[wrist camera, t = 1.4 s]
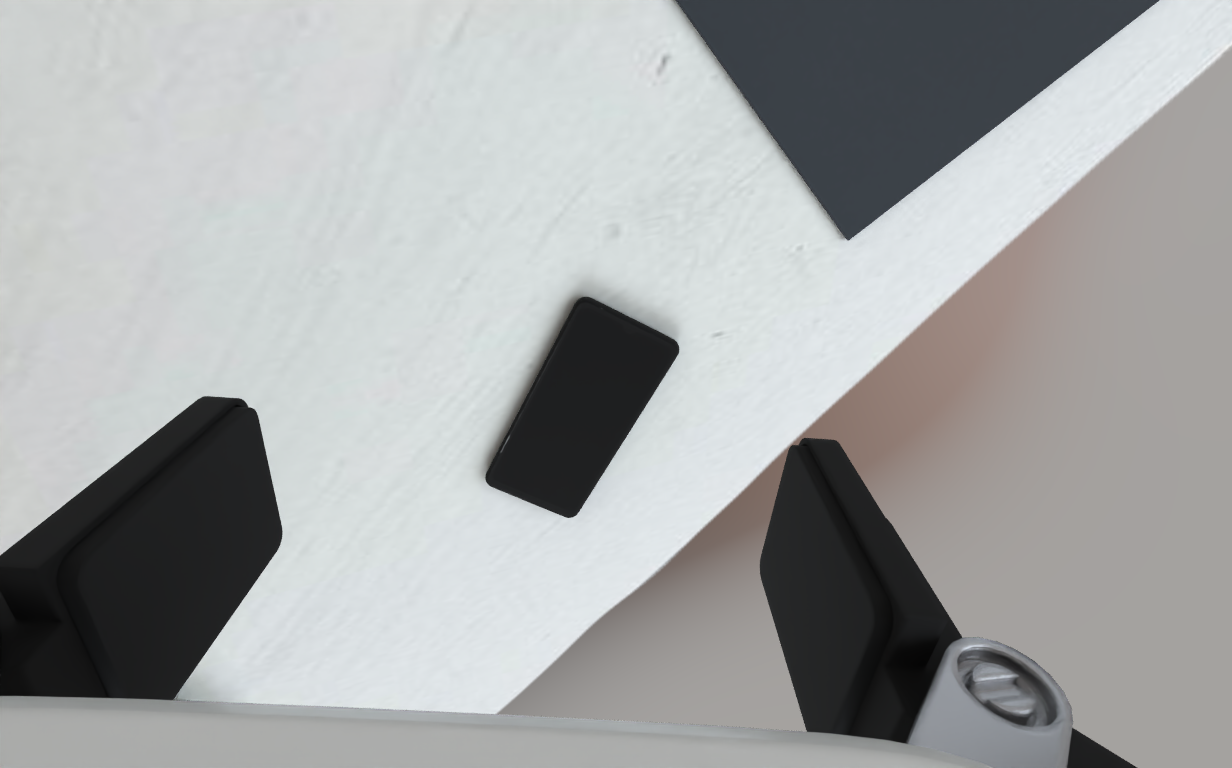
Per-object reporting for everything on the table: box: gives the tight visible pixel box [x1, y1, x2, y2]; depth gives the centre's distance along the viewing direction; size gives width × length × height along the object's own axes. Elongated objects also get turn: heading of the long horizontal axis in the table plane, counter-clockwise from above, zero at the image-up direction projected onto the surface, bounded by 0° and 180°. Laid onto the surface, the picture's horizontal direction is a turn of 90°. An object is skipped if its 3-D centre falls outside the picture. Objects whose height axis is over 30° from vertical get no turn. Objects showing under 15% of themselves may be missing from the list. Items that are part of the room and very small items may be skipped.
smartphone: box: [485, 297, 679, 518], centre depth 38 cm, size 7×1×15 cm
